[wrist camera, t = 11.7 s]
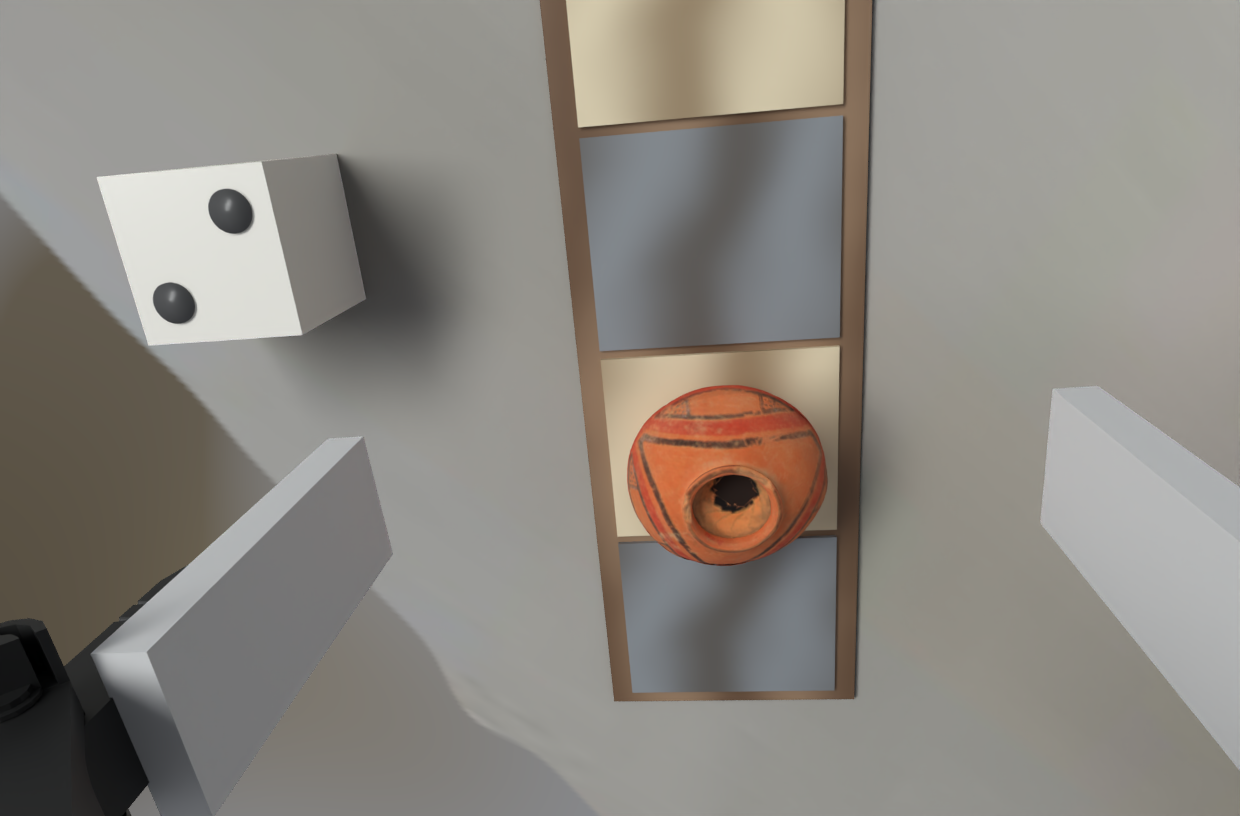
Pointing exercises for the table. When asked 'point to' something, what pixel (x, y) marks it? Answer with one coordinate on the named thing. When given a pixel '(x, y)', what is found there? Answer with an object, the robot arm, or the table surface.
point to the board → (718, 307)
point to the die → (236, 248)
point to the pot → (726, 475)
